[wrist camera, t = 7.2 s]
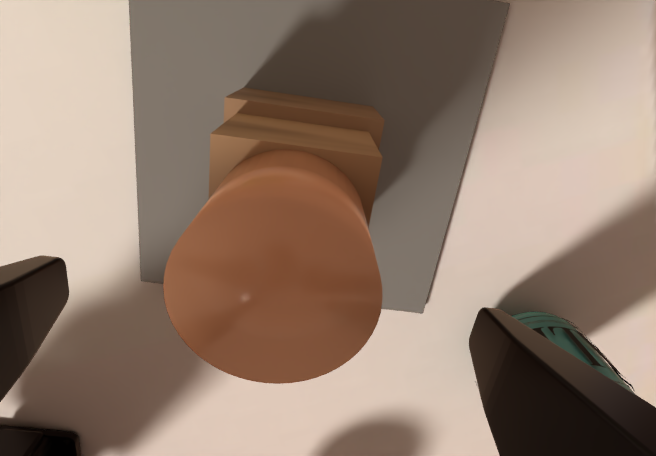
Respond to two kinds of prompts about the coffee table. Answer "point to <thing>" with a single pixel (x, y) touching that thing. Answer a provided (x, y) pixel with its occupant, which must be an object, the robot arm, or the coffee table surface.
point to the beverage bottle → (570, 342)
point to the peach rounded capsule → (276, 271)
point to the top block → (274, 134)
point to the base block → (305, 110)
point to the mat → (318, 82)
